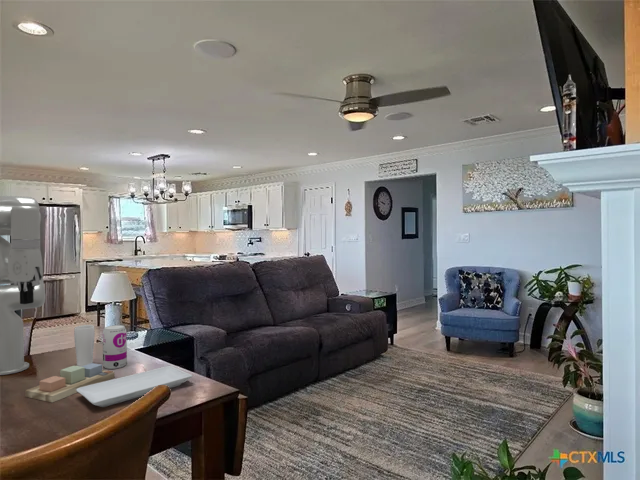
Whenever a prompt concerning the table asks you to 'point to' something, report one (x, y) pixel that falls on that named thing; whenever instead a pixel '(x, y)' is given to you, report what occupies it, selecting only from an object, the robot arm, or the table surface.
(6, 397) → the table surface
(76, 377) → the key sage
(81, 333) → the drinking glass
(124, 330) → the supplement can
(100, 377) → the keypad base
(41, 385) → the key terracotta
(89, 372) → the key slate
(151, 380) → the tray
